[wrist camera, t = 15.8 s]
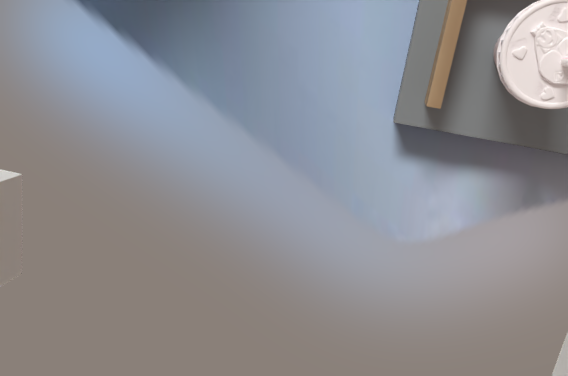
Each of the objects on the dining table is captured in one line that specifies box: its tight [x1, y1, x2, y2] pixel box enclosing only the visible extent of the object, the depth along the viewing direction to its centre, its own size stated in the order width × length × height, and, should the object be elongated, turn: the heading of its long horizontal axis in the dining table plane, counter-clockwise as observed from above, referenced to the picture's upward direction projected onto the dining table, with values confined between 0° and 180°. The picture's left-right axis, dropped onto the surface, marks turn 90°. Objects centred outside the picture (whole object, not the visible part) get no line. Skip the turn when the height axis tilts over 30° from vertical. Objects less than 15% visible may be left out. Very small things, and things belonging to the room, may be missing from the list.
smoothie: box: [493, 0, 568, 109], centre depth 32 cm, size 6×6×14 cm
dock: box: [394, 0, 568, 154], centre depth 40 cm, size 16×13×3 cm
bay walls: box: [424, 0, 467, 109], centre depth 37 cm, size 12×11×3 cm
